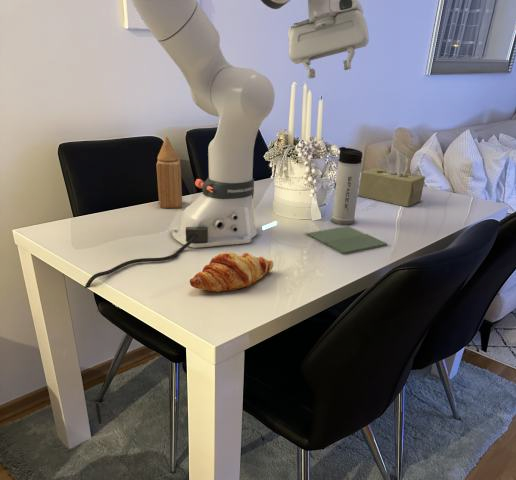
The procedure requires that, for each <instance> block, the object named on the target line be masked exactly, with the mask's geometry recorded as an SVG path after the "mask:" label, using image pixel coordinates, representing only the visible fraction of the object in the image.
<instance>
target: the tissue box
mask: <svg viewBox="0 0 516 480" xmlns="http://www.w3.org/2000/svg"><path fill="white" fill-rule="evenodd" d="M376 161H377V164H378V165H379V166H380V167H377V166H376V167H375V166H374V167H372V168H369V169H365V170H361V171H360V178H359V186H358V194H357V197H360V198H366V199H370V200H374V201H379V202H383V203H388V204H393V205H397V206H402V207H406V208H409V207H410V206H413V205H415V204H417V203H420V202H421V199H422V194H423V190H424V186H425V185H424V184H425V180H426V176H424V175H418V174H415V173H414V174H413V173H408V172H407V169H408V162H409V159H408V157H407V155H406V154H402V155H401V154H400V153H399V150H398V149H396V148H395V149H392V150H391V151H390V152H389V153H388V154H382V155H381V156H380V157H379V158H377V159H376Z"/></svg>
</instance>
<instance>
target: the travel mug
mask: <svg viewBox="0 0 516 480" xmlns="http://www.w3.org/2000/svg"><path fill="white" fill-rule="evenodd" d="M338 151H339V157H338V162H337V170H336V171H337V172H336V179H337V180H336V179H335V180H336V181H335V183H336V187H335V191H334V200H333V208H332V209H333V210H332V216H331V217H332V218H331V221H332V222H333V223H335V224H336V225H341V226H345V225H353V224H354V222H355V215H356V208H357V200H358V193H359V186H360V178H361V172H362V170H361V169H362V161H363V160H362V159H363V152H362V151H361V150H359V149H355V148H350V147H346V146H341V147H339V149H338ZM338 163H339V164H338Z"/></svg>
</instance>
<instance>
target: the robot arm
mask: <svg viewBox="0 0 516 480" xmlns="http://www.w3.org/2000/svg"><path fill="white" fill-rule="evenodd" d="M130 1H131V2H132V4H133V7H134V8H135V10H136V12H137V13H138V15H139V17H140V18H141V20H142V22H143V23H144V24H145V27H147V29H148V30H149V31H150V33H151V34H152V35H153V37H154V38H155V39H156V41H157V42H158V44H160V46H161V47H162V48H163V50H164V51H165V52H166V54H168V56H169V58H170V59H171V60H172V61H173V62H174V63H175V65H176V66H177V67H178V69H179V70H180V72H181V73H182V75H183V76H184V78H185V80H186V82H187V84H188V86H189V88H190V96H191V99H192V101H193V102H194V104H195V105H196V106H197V107H198V108H199V109H200V110H202V111H203V112H205V113H207V114H208V115H211V116H214V117H218V125H217V127H216V128H217V129H216V133H215V135H214V138H213V139H212V140H211V141H210V142H209V144H208V151H207V152H208V153H207V156H208V177H207V179H206V180H202V179H201V178H197V179H196V180H195V182H194V184H195V186H196V187H197V188H198V189H202V193H201V194H200V195H199V196H198V197H196V199H194V200H193V201H192V202H191V203H190V204H189V205H188V206H186V208H184V209H183V211H182V212H181V217H180V226H177V227H174V228H173V229H172V232H171V233H172V237H173V238H174V240H176V241H177V242H178V243H179V244H181V245H182V246H181V247H180V248H178V249H177V250H176V251H175V252H174V253H173V254H170V255H167V256H161V257H144V258H143V257H142V258H133V259H131V260H127V261H124V262H121V263H120V264H117V265H116V266H114V267H111V269H108V270H104V271H100V272H96V273H95V274H93V275H92V276H91V277H90V278H89V279H88V280H87V282H86V283H85V284H84V289H88V288H90V287H91V285H92V283H93V282H94V281H95V280H96V279H98V278H99V277H103V276H108V275H110V274H112V273H114V272H116V271H118V270H120V269H122V268H123V267H126V266H129V265H132V264H138V263H150V262H154V263H155V262H164V261H168V260H169V261H170V260H172V259H174V258H176V257H178V255H180V253H182V252H183V251H184V250H185V249H186V248H188V247H190V248H195V249H197V248H208V247H219V246H232V245H241V244H250V243H251V241H252V239H253V238H254V237H256V235H257V234H258V230H257V229H258V228H257V225H256V221H255V214H254V203H253V200H254V194H255V179H254V178H253V171H254V170H253V168H254V149H255V144H256V139H257V136H258V134H259V133H258V132H259V129H260V127H261V125H262V123H263V121H264V120H265V119H266V118H267V117H268V116H269V115H270V113H271V112H272V110H273V108H274V104H275V89H274V85H273V83H272V82H271V80H270V79H269V78H268V77H267V76H266V75H264V74H262V73H261V72H259V71H257V70H255V69H252V68H245V67H237V66H234V65H232V64H230V63H229V62H228V61H227V59H226V58H225V56H224V54H223V52H222V49H221V47H220V43H221V37H220V33H219V31H218V30H217V28H216V26H214V24H213V22H212V21H211V19H210V18H209V17H208V15H207V13H206V12H205V11H204V9H203V7H202V6H201V5H200V3H199V2H198V0H130ZM260 1H261V2H262V4H264V5H265V6H266V7H268V8H270V9H272V10H279V9H281V8H282V7H284V6H285V5H286V4H287V3H289V2H290V1H291V0H260ZM307 10H308V12H307V13H308V19H304V20H301V21H299V22H295V23H293V24H292V26H290V27H289V29H288V30H287V33H288V34H287V37H288V41H289V42H288V43H289V44H288V57H289V59H290V60H291V62H292V63H293V64H295V65H298V64H302V65H304V67H305V69H306V71H307V77H308V79H314V78H316V70H315V69H314V68H311V67H310V65H311V62H312V61H314V60H317V59H321V58H322V59H323V58H326V57H329V56H335V55H337V54H341V53H345V52H347V54H348V55H347V58H346V60H343V61H342V62H343V70H344V71H349V70H351V69H352V61H353V58H354V56H355V54H356V49H357V50H358V49H361V48H366V47H367V45H368V43H369V41H370V37H369V36H370V35H369V28H368V23H367V21H366V19H365V17H364V9H363V7H362V4H361V3H360V2H359V0H307ZM277 225H278V221H276V220H275V221H272V222H270V223H268V224H265V225H262V226H261V227H262V228H261V229H262V231H264V230H267V229H269V228H272V227H275V226H277ZM94 405H95V412H96V417H97V424H99V425H101V424H102V423H103V421H102V415H101V409H100V404H99V402H97V403H94Z"/></svg>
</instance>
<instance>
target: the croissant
mask: <svg viewBox="0 0 516 480" xmlns="http://www.w3.org/2000/svg"><path fill="white" fill-rule="evenodd" d="M273 267H274V261H273V260H271V259H270V260H268V259H267V258H265V257H264V256H259V257H257V256H253V255H252V254H250V253H248V252H244V253H243V254H241V255H238V254H237V253H235V252H223V253H219V254H217V255H216V256H213V257H212V258H211V260H210V261H209V263H208V264H206V265H205V266H204V267H203V268H202V270H201V271H199V272H198V273H196V274H195V275H194V276H193V278H190V279H189V284H190V286H191V287H193V288H194V289H198V290H206V291H209V292H216V293H220V292H224V291H235V290H238V289H242V288H247V287H249V286H251V285H253V284H254V283H256V282H257V281H258V280H260V279H262V278H263V277H264V276H265V275H266V274H268V273H270V272H271V271H272V269H273Z"/></svg>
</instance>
